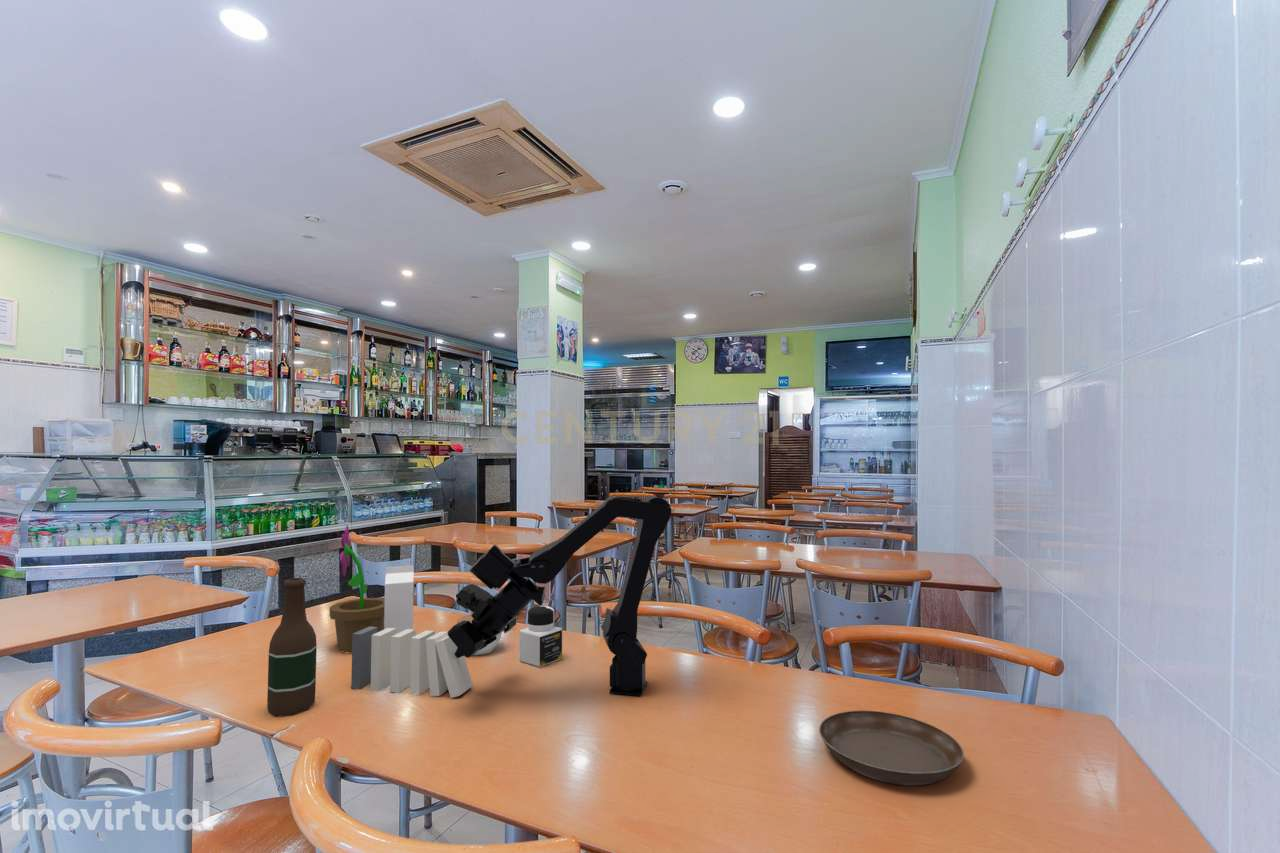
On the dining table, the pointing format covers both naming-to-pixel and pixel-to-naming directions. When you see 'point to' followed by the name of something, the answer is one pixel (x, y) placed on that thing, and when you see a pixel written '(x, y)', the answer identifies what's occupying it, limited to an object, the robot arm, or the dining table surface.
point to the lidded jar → (490, 646)
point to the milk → (399, 598)
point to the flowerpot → (355, 604)
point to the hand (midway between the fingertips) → (456, 655)
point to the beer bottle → (292, 656)
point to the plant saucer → (891, 747)
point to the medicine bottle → (540, 638)
